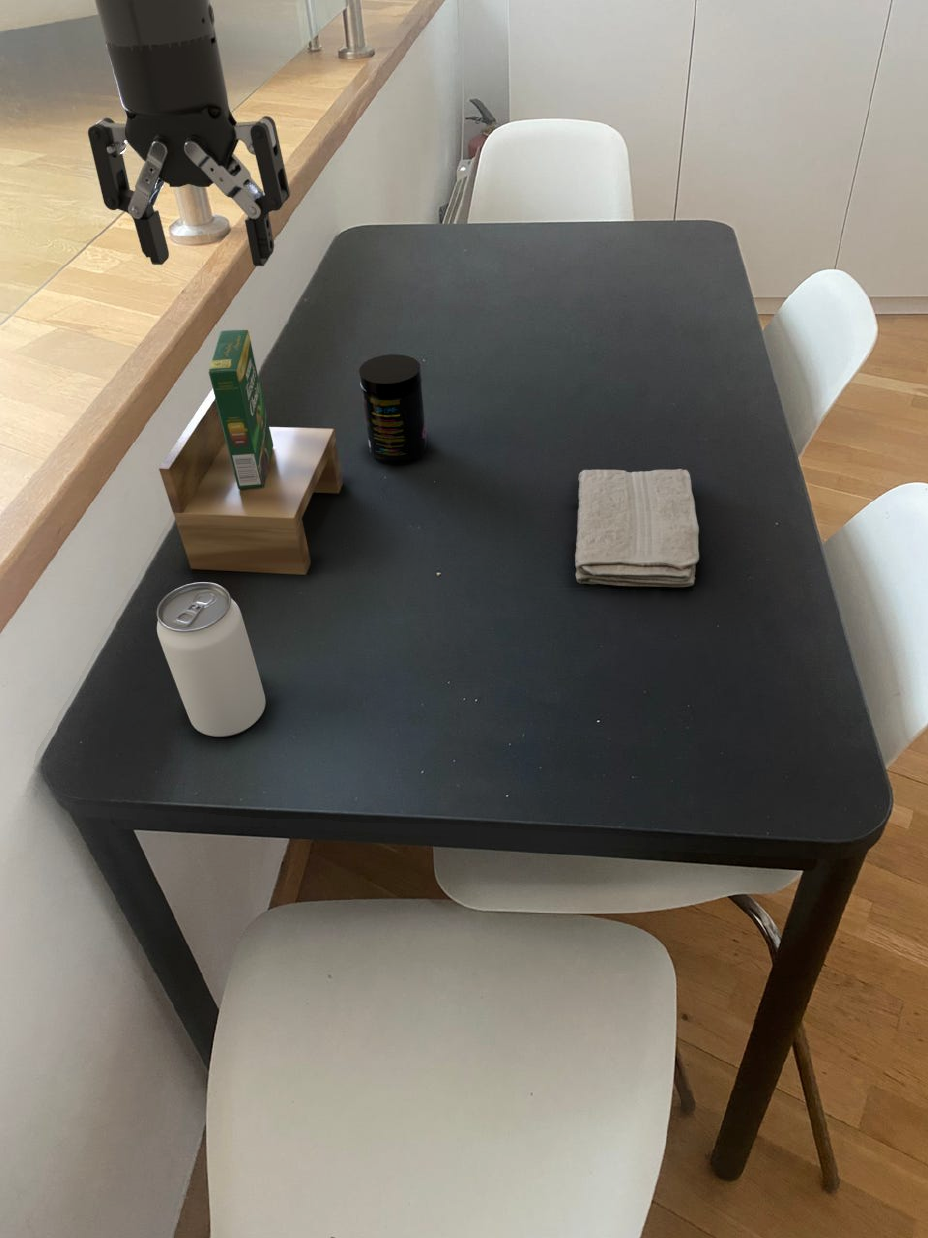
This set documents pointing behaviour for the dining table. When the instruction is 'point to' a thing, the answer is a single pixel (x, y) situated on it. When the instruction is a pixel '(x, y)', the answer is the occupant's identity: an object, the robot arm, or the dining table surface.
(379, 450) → the supplement container
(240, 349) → the coffee box
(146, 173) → the robot arm
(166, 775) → the dining table surface
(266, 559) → the shelf
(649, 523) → the washcloth
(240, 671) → the can
